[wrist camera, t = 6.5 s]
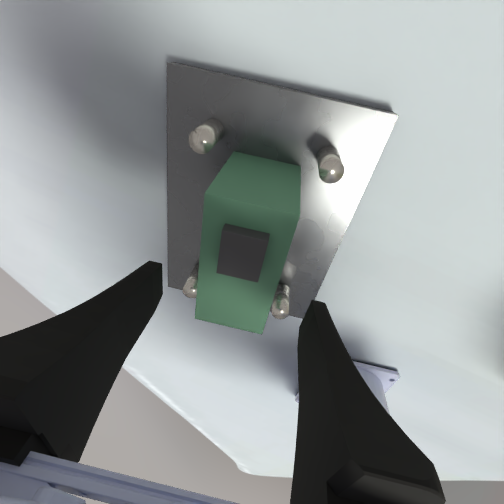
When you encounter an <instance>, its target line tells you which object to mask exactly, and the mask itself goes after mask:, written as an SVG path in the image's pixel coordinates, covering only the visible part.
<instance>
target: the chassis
mask: <svg viewBox="0 0 504 504" xmlns="http://www.w3.org/2000/svg"><path fill="white" fill-rule="evenodd" d="M398 116H399V115H397V114H395V113H394V112H391V111H386V110H382V109H377V108H373V107H369V106H364V105H360V104H355V103H351V102H347V101H342V100H338V99H333V98H329V97H325V96H320V95H316V94H312V93H307V92H303V91H298V90H294V89H290V88H285V87H281V86H276V85H272V84H268V83H263V82H259V81H254V80H250V79H246V78H241V77H237V76H232V75H228V74H224V73H219V72H215V71H210V70H206V69H202V68H197V67H193V66H188V65H184V64H180V63H175V62H171V63H167V194H168V287H172V288H176V289H180V290H183V293H184V295H186V296H187V297H189V298H196V297H197V284H198V271H199V259H200V246H201V233H202V221H203V208H204V195H205V192H206V190H207V189H208V187H209V186H210V185H211V183H212V182H213V180H214V179H215V177H216V176H217V175H218V173H219V172H220V170H221V169H222V167H223V166H224V165H225V163H226V162H227V160H228V159H229V157H230V156H231V155H232V153H233V152H234V151H235V152H240V153H244V154H249V155H253V156H257V157H262V158H266V159H271V160H275V161H279V162H284V163H288V164H293V165H297V166H301V199H300V217H299V220H298V224H297V227H296V230H295V233H294V236H293V239H292V242H291V245H290V249H289V252H288V255H287V258H286V261H285V264H284V267H283V270H282V273H281V277H280V280H279V283H278V286H277V289H276V292H275V295H274V298H273V302H272V305H271V308H270V311H272V315H273V316H274V317H275V318H277V319H284V318H286V317H287V316H288V315H290V316H294V317H298V318H302V319H303V318H304V316H305V314H306V312H307V309H308V307H309V305H310V303H311V300H315V297H316V295H317V293H318V291H319V289H320V286H321V284H322V282H323V280H324V278H325V275H326V273H327V271H328V269H329V267H330V265H331V262H332V260H333V258H334V256H335V254H336V251H337V249H338V247H339V245H340V243H341V240H342V238H343V236H344V234H345V232H346V229H347V227H348V225H349V223H350V221H351V219H352V216H353V214H354V212H355V210H356V208H357V205H358V203H359V201H360V199H361V197H362V194H363V192H364V190H365V188H366V186H367V184H368V181H369V179H370V177H371V175H372V173H373V170H374V168H375V166H376V164H377V162H378V159H379V157H380V155H381V153H382V151H383V148H384V146H385V144H386V142H387V140H388V138H389V135H390V133H391V131H392V129H393V127H394V124H395V122H396V120H397V118H398Z"/></svg>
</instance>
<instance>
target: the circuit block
mask: <svg viewBox="0 0 504 504" xmlns="http://www.w3.org/2000/svg"><path fill="white" fill-rule="evenodd" d="M300 199H301V166H297V165H293V164H288V163H284V162H279V161H275V160H271V159H266V158H262V157H257V156H253V155H249V154H244V153H240V152H235V151H234V152H233V153H232V155H231V156H230V157H229V159H228V160H227V162H226V163H225V165H224V166H223V167H222V169H221V170H220V172H219V173H218V175H217V176H216V177H215V179H214V180H213V182H212V183H211V185H210V186H209V187H208V189H207V190H206V192H205V195H204V208H203V221H202V233H201V246H200V259H199V271H198V284H197V297H196V309H195V319H199V320H203V321H207V322H211V323H216V324H220V325H224V326H228V327H232V328H237V329H241V330H245V331H249V332H254V333H258V334H262V333H263V330H264V326H265V323H266V320H267V317H268V314H269V311H270V308H271V305H272V302H273V298H274V295H275V292H276V289H277V286H278V283H279V280H280V277H281V273H282V270H283V267H284V264H285V261H286V258H287V255H288V252H289V249H290V245H291V242H292V239H293V236H294V233H295V230H296V227H297V224H298V220H299V217H300Z"/></svg>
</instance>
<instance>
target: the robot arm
mask: <svg viewBox="0 0 504 504" xmlns="http://www.w3.org/2000/svg"><path fill="white" fill-rule="evenodd" d="M162 295H163V286H162V264H161V263H157V262H153V261H148V262H147V263H145V264H144V265H142V266H141V267H139V268H138V269H137V270H135V271H134V272H132V273H131V274H129V275H128V276H126V277H125V278H123V279H122V280H120V281H119V282H117V283H116V284H114V285H113V286H111V287H110V288H108V289H106V290H105V291H103V292H101V293H100V294H98V295H96V296H95V297H93V298H91V299H89V300H88V301H86V302H84V303H82V304H80V305H78V306H76V307H74V308H72V309H70V310H68V311H66V312H64V313H62V314H59V315H57V316H55V317H52V318H50V319H48V320H46V321H43V322H41V323H39V324H36V325H33V326H31V327H28V328H25V329H23V330H20V331H17V332H14V333H11V334H9V335H6V336H2V337H0V504H86V503H85V500H83V499H81V498H78V497H76V496H73V495H71V494H75V495H78V496H82V497H86V498H90V499H94V500H98V501H101V502H105V503H109V504H238V503H234V502H230V501H226V500H222V499H218V498H214V497H210V496H206V495H203V494H198V493H195V492H191V491H187V490H183V489H179V488H175V487H171V486H167V485H163V484H159V483H155V482H151V481H147V480H143V479H139V478H135V477H131V476H128V475H124V474H120V473H116V472H112V471H108V470H104V469H100V468H96V467H92V466H88V465H84V464H80V463H78V462H79V460H80V458H81V455H82V453H83V451H84V448H85V446H86V443H87V441H88V439H89V436H90V434H91V432H92V429H93V427H94V425H95V422H96V420H97V418H98V416H99V413H100V411H101V409H102V407H103V404H104V402H105V400H106V398H107V396H108V394H109V392H110V389H111V387H112V385H113V383H114V381H115V379H116V377H117V375H118V373H119V371H120V369H121V367H122V365H123V363H124V361H125V359H126V358H127V356H128V354H129V352H130V351H131V349H132V348H133V346H134V344H135V343H136V341H137V340H138V338H139V336H140V335H141V333H142V332H143V330H144V329H145V327H146V325H147V324H148V322H149V320H150V319H151V317H152V316H153V314H154V312H155V310H156V308H157V306H158V304H159V301H160V299H161V297H162ZM399 378H400V375H399V373H398V372H396V371H393V370H388V369H384V368H380V367H376V366H372V365H368V364H363V363H359V362H355V361H352V359H351V357H350V355H349V354H348V352H347V350H346V348H345V346H344V344H343V342H342V340H341V338H340V336H339V334H338V332H337V330H336V327H335V325H334V323H333V321H332V318H331V316H330V314H329V311H328V309H327V306H326V304H325V303H323V302H319V301H315V300H311V303H310V305H309V307H308V309H307V312H306V314H305V316H304V318H303V320H302V323H301V325H300V327H299V337H298V381H299V392H298V394H297V395H296V397H295V401H296V402H298V403H299V410H298V426H297V438H296V451H295V461H294V472H293V482H292V491H291V499H290V504H444V503H445V501H446V500H445V497H444V494H443V490H442V487H441V484H440V480H439V477H438V475H437V472H436V470H435V467H434V464H433V463H432V462H431V461H430V460H429V459H428V458H427V457H426V456H425V454H424V453H423V452H422V451H421V450H420V449H419V448H418V447H417V446H416V445H415V444H414V443H413V442H412V441H411V440H410V438H409V437H408V436H407V435H406V434H405V433H404V432H403V430H402V429H401V428H400V427H399V426H398V425H397V423H396V422H395V421H394V420H393V419H392V417H391V416H390V414H389V410H388V406H387V402H386V397H385V393H386V392H387V391H388V389H389V388H390V387H391V386H392V385H393V384H394V383H395V382H396V381H397V380H398V379H399ZM68 493H70V494H68Z"/></svg>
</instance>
